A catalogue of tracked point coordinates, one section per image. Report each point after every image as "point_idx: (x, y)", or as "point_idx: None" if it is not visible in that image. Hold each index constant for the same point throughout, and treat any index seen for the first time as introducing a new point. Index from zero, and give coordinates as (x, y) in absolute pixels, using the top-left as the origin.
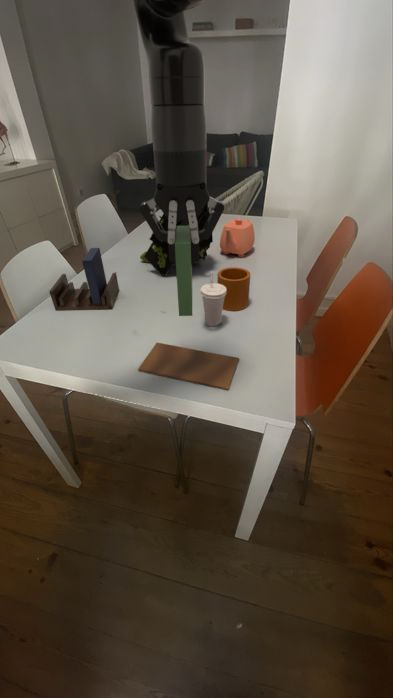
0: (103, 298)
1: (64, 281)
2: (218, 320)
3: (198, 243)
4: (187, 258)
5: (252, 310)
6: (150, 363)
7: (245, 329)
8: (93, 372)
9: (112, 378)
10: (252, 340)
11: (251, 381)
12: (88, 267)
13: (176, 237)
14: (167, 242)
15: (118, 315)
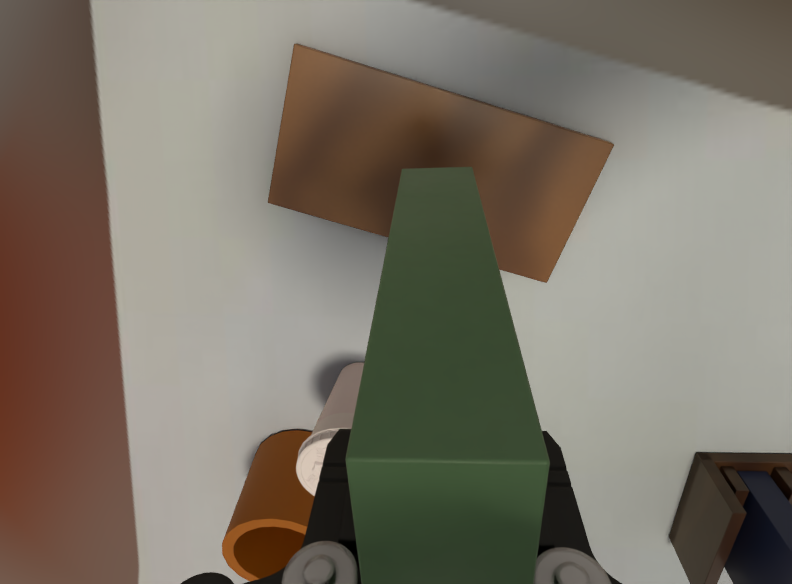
0: (738, 488)
1: None
2: (340, 377)
3: (304, 552)
4: (399, 347)
5: (241, 430)
6: (568, 174)
7: (257, 344)
8: (776, 134)
9: (706, 102)
10: (232, 293)
11: (223, 92)
12: None
13: None
14: (603, 575)
15: (675, 423)
